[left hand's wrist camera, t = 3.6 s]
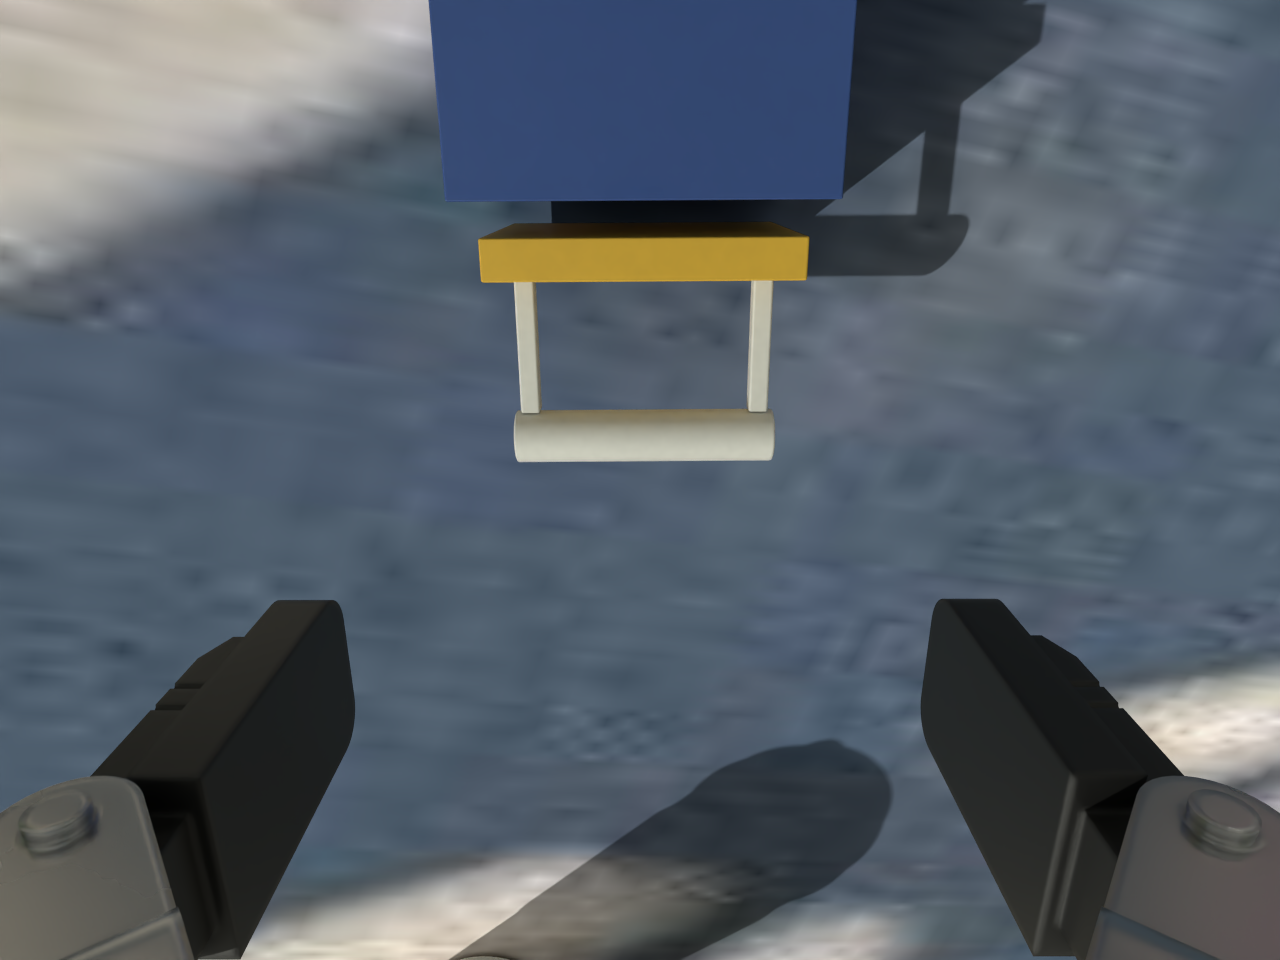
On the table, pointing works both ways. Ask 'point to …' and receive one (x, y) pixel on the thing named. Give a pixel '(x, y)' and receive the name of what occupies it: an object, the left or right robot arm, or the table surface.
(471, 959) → the coffee cup
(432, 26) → the cabinet
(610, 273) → the drawer
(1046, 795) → the left robot arm
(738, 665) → the table surface
